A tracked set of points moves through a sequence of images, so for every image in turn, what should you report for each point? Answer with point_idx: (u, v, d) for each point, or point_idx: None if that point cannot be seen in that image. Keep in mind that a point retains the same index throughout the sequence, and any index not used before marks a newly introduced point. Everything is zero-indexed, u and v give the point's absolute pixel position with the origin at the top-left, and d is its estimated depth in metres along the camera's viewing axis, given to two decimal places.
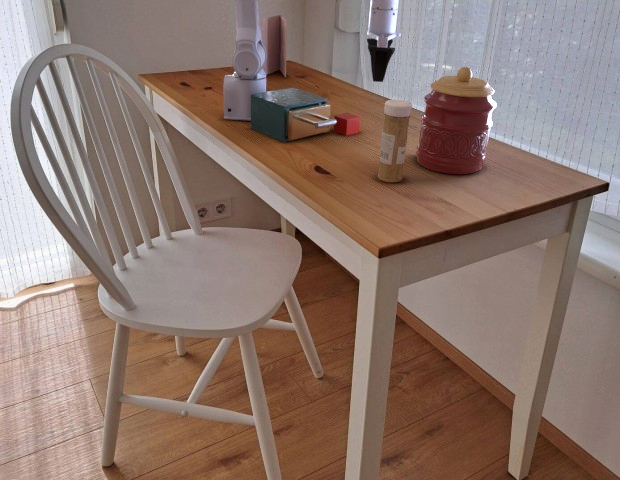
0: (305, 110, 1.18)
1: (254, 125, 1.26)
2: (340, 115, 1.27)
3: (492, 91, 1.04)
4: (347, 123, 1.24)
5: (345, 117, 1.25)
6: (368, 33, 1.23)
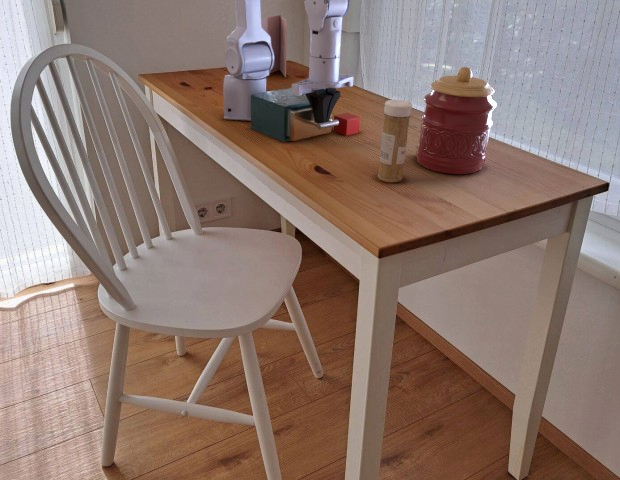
0: (307, 111, 1.18)
1: (254, 125, 1.26)
2: (340, 115, 1.27)
3: (492, 91, 1.04)
4: (347, 123, 1.24)
5: (345, 117, 1.25)
6: None
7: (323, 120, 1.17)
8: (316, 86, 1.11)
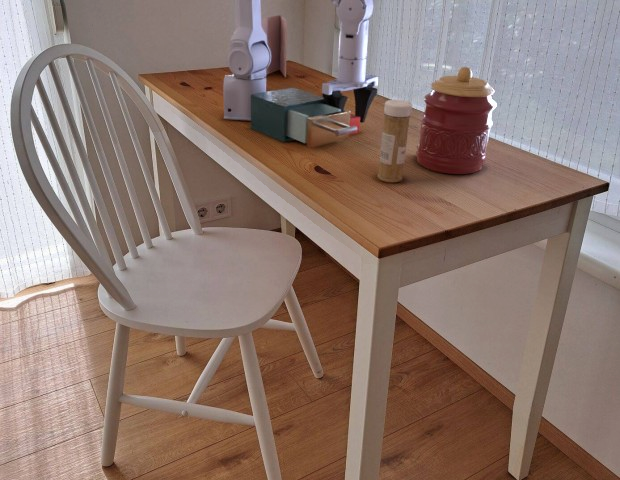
0: (325, 117, 1.15)
1: (254, 125, 1.26)
2: None
3: (492, 91, 1.04)
4: None
5: None
6: None
7: None
8: (345, 86, 1.19)
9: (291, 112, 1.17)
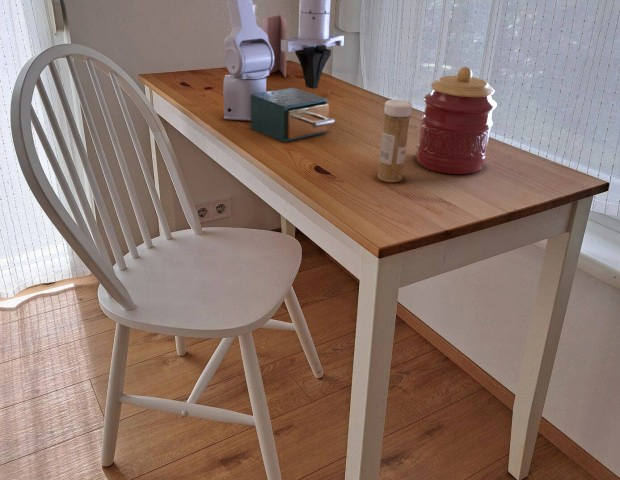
0: (303, 109, 1.19)
1: (254, 125, 1.26)
2: None
3: (492, 91, 1.04)
4: None
5: None
6: None
7: (313, 79, 1.15)
8: (306, 43, 1.09)
9: None
